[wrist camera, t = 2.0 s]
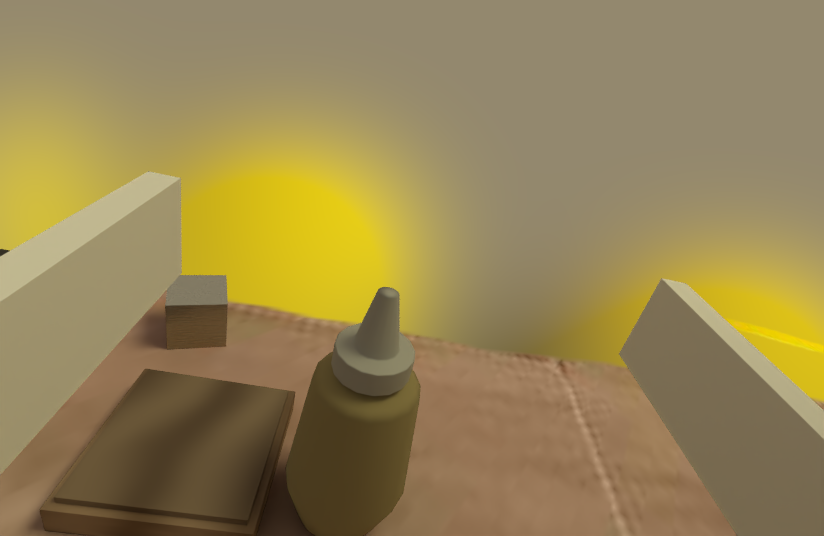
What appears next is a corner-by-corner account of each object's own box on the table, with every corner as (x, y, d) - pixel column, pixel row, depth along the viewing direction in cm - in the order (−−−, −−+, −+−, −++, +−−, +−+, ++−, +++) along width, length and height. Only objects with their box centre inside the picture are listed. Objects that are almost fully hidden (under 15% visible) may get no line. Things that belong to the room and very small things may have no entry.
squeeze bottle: (390, 458, 37) (447, 266, 28) (399, 563, 30) (478, 349, 21) (287, 453, 35) (316, 247, 27) (272, 563, 28) (304, 331, 20)
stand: (292, 408, 39) (295, 387, 38) (251, 553, 28) (253, 529, 27) (146, 387, 37) (144, 363, 36) (44, 530, 27) (38, 504, 26)
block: (224, 316, 48) (226, 275, 45) (226, 346, 44) (227, 304, 41) (170, 317, 46) (169, 275, 43) (167, 350, 42) (165, 305, 39)
